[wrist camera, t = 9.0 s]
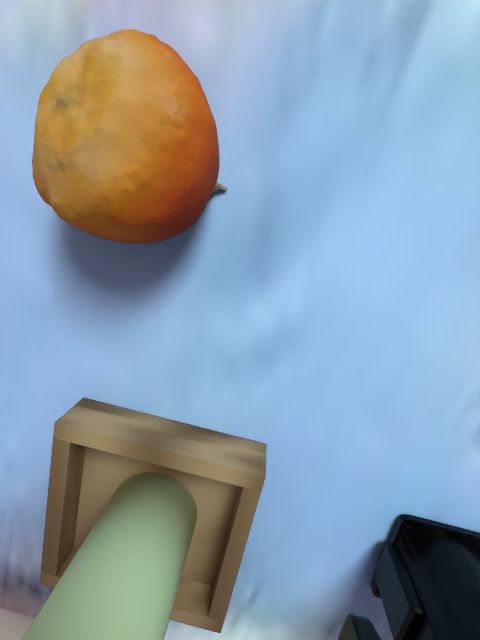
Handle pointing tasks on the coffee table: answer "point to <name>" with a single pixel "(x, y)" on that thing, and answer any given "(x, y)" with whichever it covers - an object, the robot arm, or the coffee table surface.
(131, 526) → the green rounded tapered cylinder
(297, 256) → the coffee table surface
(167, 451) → the tray
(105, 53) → the fruit
